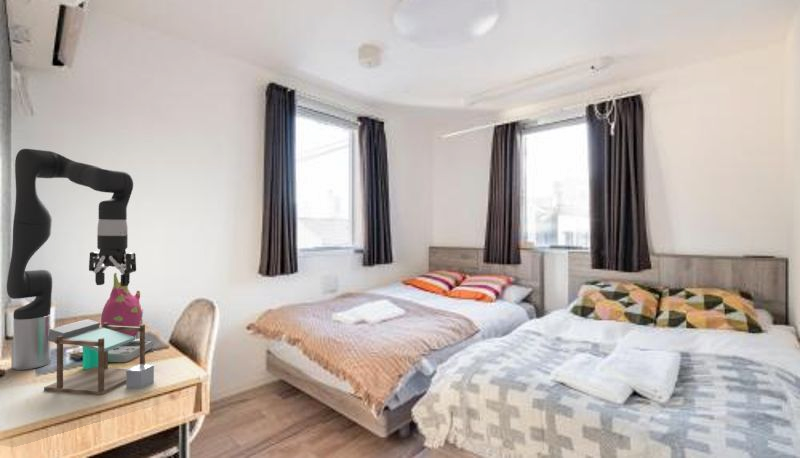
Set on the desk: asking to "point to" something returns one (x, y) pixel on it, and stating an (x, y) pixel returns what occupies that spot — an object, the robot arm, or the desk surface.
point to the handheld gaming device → (127, 351)
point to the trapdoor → (90, 334)
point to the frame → (95, 377)
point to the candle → (90, 358)
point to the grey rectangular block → (139, 376)
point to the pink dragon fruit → (123, 309)
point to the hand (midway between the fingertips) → (112, 285)
